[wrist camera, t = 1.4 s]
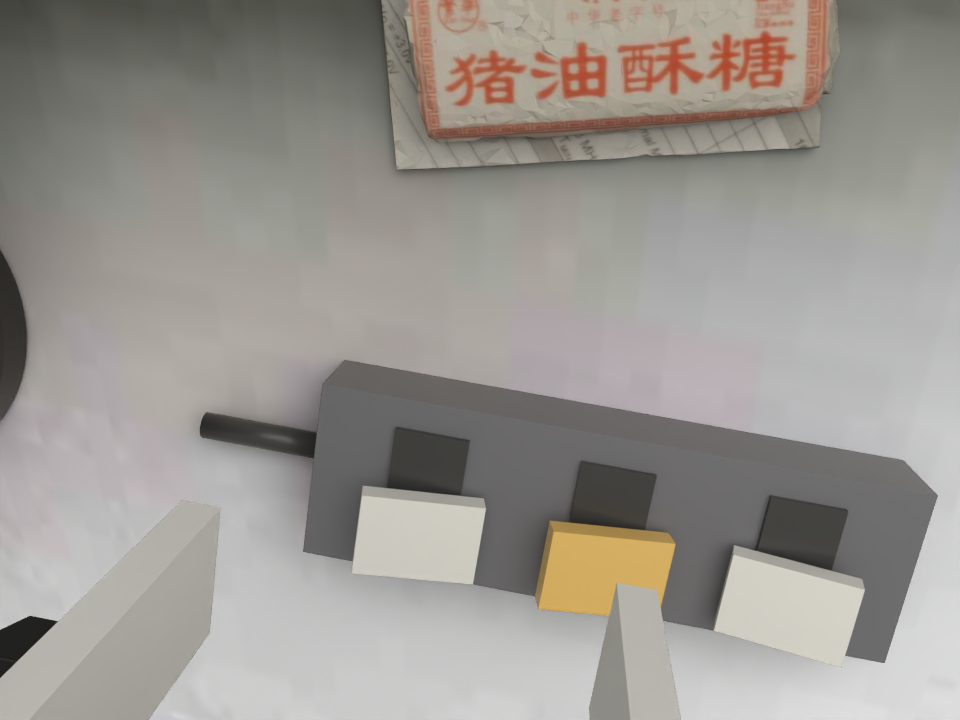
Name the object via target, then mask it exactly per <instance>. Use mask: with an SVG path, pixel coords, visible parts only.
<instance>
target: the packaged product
mask: <svg viewBox="0 0 960 720" xmlns="http://www.w3.org/2000/svg"><path fill="white" fill-rule="evenodd" d="M381 1H382V13H383V25H384V37H385V50H386V61H387V71H388V81H389V91H390V103H391V113H392V123H393V133H394V144H395V155H396V167H397V169H396V170H399V169H424V168H451V167H479V166H497V165H512V164H527V163H542V162H558V161H572V160H599V159H614V158H626V157H638V156H644V155H648V156H659V155H676V154H679V155H696V154H712V153H727V152H742V151H757V150H769V149H796V148H819V146H820V141H819V136H820V121H821V100H822V94H830V93H831V90H832V86H833V67H834V65H835V62H836V60H837V58H838V56H839V54H840V49H839V30H838V8H837V4H836V1H835V0H381Z"/></svg>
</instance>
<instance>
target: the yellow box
mask: <svg viewBox="0 0 960 720" xmlns="http://www.w3.org/2000/svg"><path fill="white" fill-rule="evenodd" d="M675 545H676V544H675V542H674V540H673V539H672V537H671V536H670V534H669V533H665V532H656V531H646V530H636V529H627V528H617V527H607V526H598V525H588V524H578V523H568V522H559V521H550V522H549V527H548V532H547V537H546V542H545V547H544V552H543V558H542V563H541V568H540V573H539V578H538V583H537V588H536V594H535V599H536V602H537V606H538V609H541V610H552V611H563V612H574V613H585V614H597V615H608V616H609V615H610V611H611V606H612V602H613V597H614V593H615V588H616V583H622V584H627V585H633V586H638V587H643V588H648V589H654V590H657V592H658V597H659V602H660V608H661V604H662V600H663V596H664V591H665V587H666V583H667V579H668V574H669V570H670V566H671V562H672V558H673V553H674V549H675Z"/></svg>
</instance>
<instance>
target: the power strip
mask: <svg viewBox="0 0 960 720" xmlns="http://www.w3.org/2000/svg"><path fill="white" fill-rule="evenodd" d="M200 436H201V437H202V438H207V439H213V440H218V441H224V442H229V443H234V444H240V445H245V446H250V447H256V448H261V449H267V450H272V451H277V452H283V453H288V454H294V455H299V456H304V457H310V458H314V462H313V471H312V480H311V488H310V497H309V505H308V514H307V523H306V531H305V540H304V549H303V552H307V553H312V554H317V555H323V556H328V557H333V558H338V559H344V560H349V561H353V555H354V548H355V540H356V533H357V525H358V517H359V510H360V502H361V495H362V487H363V486H371V487H381V488H390V489H400V490H409V491H419V492H428V493H438V494H447V495H457V496H466V497H476V498H484V502H485V506H486V512H485V517H484V523H483V529H482V535H481V541H480V546H479V552H478V558H477V564H476V569H475V575H474V581H473V584H474V585H479V586H485V587H490V588H495V589H500V590H505V591H511V592H516V593H521V594H526V595H532V596H535V594H536V588H537V583H538V578H539V573H540V568H541V563H542V558H543V552H544V547H545V542H546V537H547V532H548V527H549V522H550V521H559V522H568V523H578V524H588V525H598V526H607V527H617V528H627V529H636V530H646V531H656V532H665V533H669V534H670V536H671V537H672V539H673V540H674V542H675V544H676V545H675V549H674V553H673V558H672V562H671V566H670V570H669V574H668V579H667V583H666V587H665V591H664V596H663V600H662V604H661V613H662V619H663V621H667V622H672V623H678V624H683V625H688V626H693V627H699V628H704V629H709V630H714V624H715V617H716V613H717V609H718V605H719V601H720V597H721V593H722V590H723V586H724V582H725V578H726V574H727V570H728V566H729V562H730V558H731V554H732V551H733V547H734V545H736V546H740V547H743V548H747V549H751V550H755V551H758V552H762V553H766V554H770V555H774V556H777V557H781V558H785V559H789V560H792V561H796V562H800V563H804V564H807V565H811V566H815V567H819V568H823V569H826V570H830V571H834V572H838V573H841V574H845V575H849V576H853V577H857V578H860V579H862V580H863V584H864V588H865V592H864V595H863V598H862V602H861V605H860V608H859V612H858V615H857V618H856V621H855V625H854V628H853V631H852V635H851V638H850V641H849V644H848V648H847V651H846V654H845V656H850V657H855V658H860V659H866V660H871V661H876V662H881V663H885V660H886V657H887V654H888V651H889V647H890V644H891V641H892V638H893V635H894V632H895V628H896V625H897V622H898V619H899V616H900V613H901V610H902V606H903V603H904V600H905V597H906V594H907V591H908V588H909V584H910V581H911V578H912V575H913V572H914V569H915V566H916V562H917V559H918V556H919V553H920V550H921V547H922V543H923V540H924V537H925V534H926V531H927V528H928V525H929V521H930V518H931V515H932V512H933V509H934V506H935V503H936V499H937V496H938V495H937V494H936V493H935V492H934V491H933V490H932V489H931V488H930V487H929V486H928V485H927V484H926V483H925V482H924V481H923V480H922V479H921V478H920V477H919V476H918V475H917V474H916V473H915V472H914V471H913V470H912V469H911V468H910V467H909V466H908V465H907V464H906V463H905V462H904V461H903V460H898V459H892V458H887V457H881V456H875V455H870V454H864V453H859V452H853V451H848V450H842V449H837V448H831V447H825V446H820V445H814V444H809V443H803V442H798V441H792V440H786V439H781V438H775V437H770V436H764V435H759V434H753V433H748V432H742V431H736V430H731V429H725V428H720V427H714V426H709V425H703V424H697V423H692V422H686V421H681V420H675V419H670V418H664V417H659V416H653V415H647V414H642V413H636V412H631V411H625V410H620V409H614V408H608V407H603V406H597V405H592V404H586V403H581V402H575V401H570V400H564V399H558V398H553V397H547V396H542V395H536V394H531V393H525V392H520V391H514V390H508V389H503V388H497V387H492V386H486V385H481V384H475V383H469V382H464V381H458V380H453V379H447V378H442V377H436V376H431V375H425V374H419V373H414V372H408V371H403V370H397V369H392V368H386V367H380V366H375V365H369V364H364V363H358V362H353V361H347V360H345V361H344V362H343V363H342V364H341V365H340V366H339V367H338V368H337V369H336V370H335V371H334V372H333V373H332V374H331V376H330V377H329V378H328V379H327V380H326V381H325V382H324V383H323V385H322V393H321V402H320V411H319V419H318V428H317V433H316V432H311V431H306V430H300V429H295V428H289V427H284V426H278V425H273V424H268V423H262V422H257V421H251V420H246V419H240V418H235V417H230V416H224V415H219V414H213V413H208V412H207V413H205V415H204V416H203V418H202V421H201V425H200Z"/></svg>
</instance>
